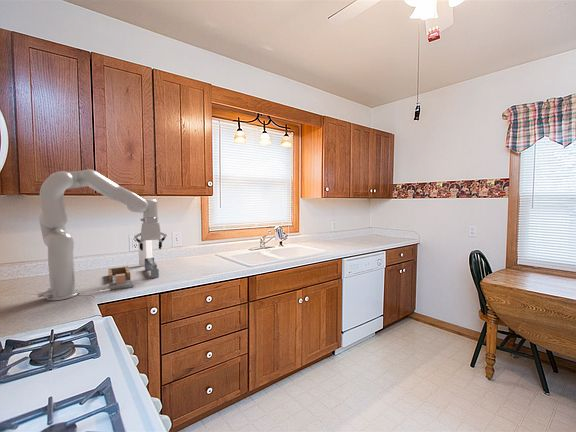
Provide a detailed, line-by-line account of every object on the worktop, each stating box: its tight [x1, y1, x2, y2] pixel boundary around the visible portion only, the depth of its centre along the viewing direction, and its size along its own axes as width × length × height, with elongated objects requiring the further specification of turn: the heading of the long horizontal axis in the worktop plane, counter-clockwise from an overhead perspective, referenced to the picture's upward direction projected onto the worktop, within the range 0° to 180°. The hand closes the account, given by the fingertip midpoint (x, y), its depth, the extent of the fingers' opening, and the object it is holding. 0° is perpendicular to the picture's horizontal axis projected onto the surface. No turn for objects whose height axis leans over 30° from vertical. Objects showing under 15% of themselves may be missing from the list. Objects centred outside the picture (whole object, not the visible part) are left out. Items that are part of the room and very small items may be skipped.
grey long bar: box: [144, 257, 160, 279], centre depth 173 cm, size 22×5×8 cm, turn 33°
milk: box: [137, 237, 154, 268], centre depth 194 cm, size 6×6×22 cm
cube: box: [115, 273, 126, 285], centre depth 155 cm, size 4×4×4 cm
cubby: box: [107, 266, 134, 292], centre depth 160 cm, size 30×10×5 cm, turn 34°
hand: (150, 249), depth 168 cm, fingers open, 9 cm apart
